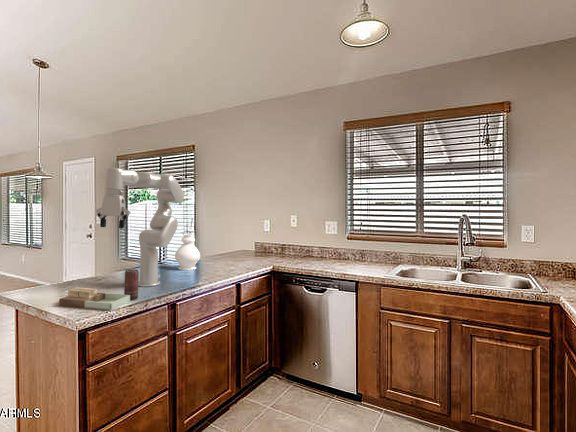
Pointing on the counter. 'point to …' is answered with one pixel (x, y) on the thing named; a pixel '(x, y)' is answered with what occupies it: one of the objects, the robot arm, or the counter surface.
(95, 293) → the tile
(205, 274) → the counter surface
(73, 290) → the tile
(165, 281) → the counter surface
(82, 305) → the board
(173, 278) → the counter surface
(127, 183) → the robot arm
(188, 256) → the decorative vase
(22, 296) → the counter surface
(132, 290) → the can
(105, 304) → the tray
